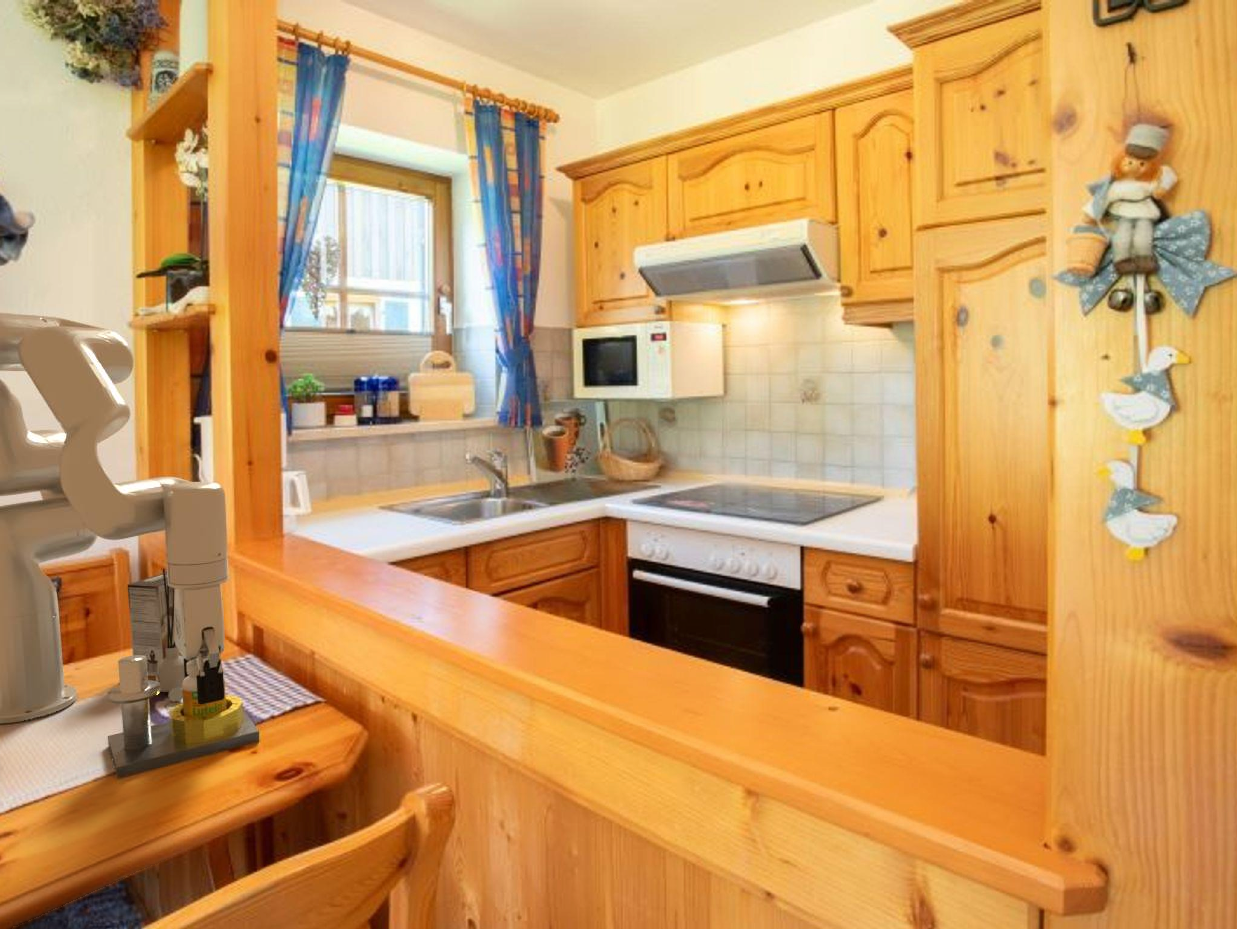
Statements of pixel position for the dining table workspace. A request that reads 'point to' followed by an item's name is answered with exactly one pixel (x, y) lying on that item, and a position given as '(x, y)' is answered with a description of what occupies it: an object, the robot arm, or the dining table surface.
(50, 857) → the dining table surface
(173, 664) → the reed diffuser
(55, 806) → the dining table surface
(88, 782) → the dining table surface
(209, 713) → the supplement bottle
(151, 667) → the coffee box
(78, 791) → the dining table surface
